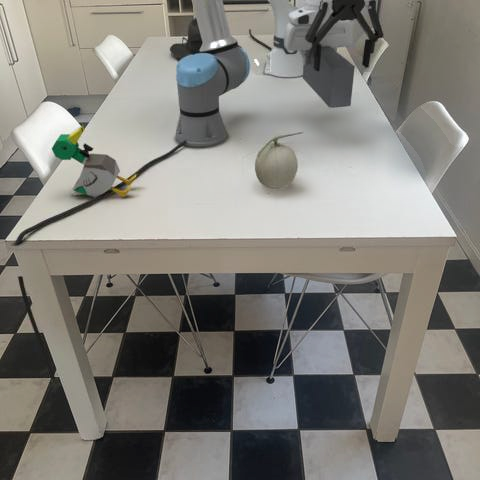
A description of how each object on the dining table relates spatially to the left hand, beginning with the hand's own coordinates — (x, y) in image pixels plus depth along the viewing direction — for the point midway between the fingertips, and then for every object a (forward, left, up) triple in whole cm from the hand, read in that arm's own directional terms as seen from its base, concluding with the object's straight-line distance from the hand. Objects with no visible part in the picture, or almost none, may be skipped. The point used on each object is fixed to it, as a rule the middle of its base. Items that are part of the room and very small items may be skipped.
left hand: (341, 68), depth 135 cm
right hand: (+18, +10, -5) cm, 21 cm away
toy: (-43, +51, -23) cm, 70 cm away
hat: (+83, +74, -23) cm, 113 cm away
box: (+10, +6, -10) cm, 15 cm away
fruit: (-28, +10, -23) cm, 37 cm away
